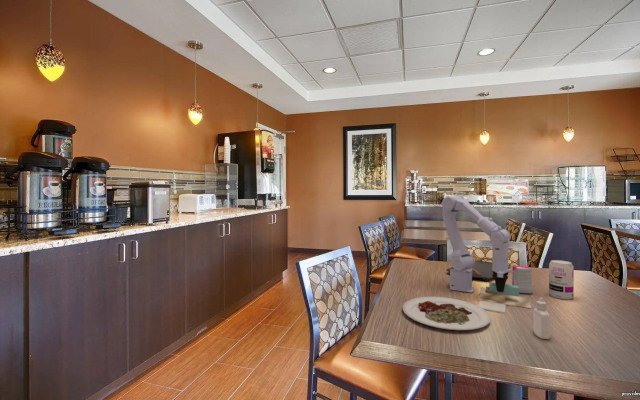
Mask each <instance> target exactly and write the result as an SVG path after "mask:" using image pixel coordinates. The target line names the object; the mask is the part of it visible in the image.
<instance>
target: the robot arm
mask: <svg viewBox="0 0 640 400" xmlns="http://www.w3.org/2000/svg"><path fill="white" fill-rule="evenodd" d="M440 205H441V207H442V210H441V217H442V220H443V223H444V226H445V230H446V233H447V236H448V239H449V242H450V245H451V248H452V251H453V252H452V253H451V256H450V257H451V267H453V268H454V269H451V270H450V275H449V290H451V291H459V292H465V293H466V292H467V293H470V294H471V293H472V294H473V292H474V286H473V277H472V267H474V265H475V261H476V260H475V258H474V257H473V256H472V254H471V252H470V250H468V249H467V248H466V246H465V243H464V240H463V236H462V234H461V231H460V227H459V224H458V223H457V222H458V221H457V220H456V216H457V214H458V213H459V212H460V211H462V212H464V213H465V214H466V215H468V216H469V217H470V218H472V220H474V221H475V222H476V223H477V227H478V228H479V229H480V230H481V231H483V232H484V233H485V234H486V235H487V236H488V239H489V240H490V242H491V244H492V249H491V250H492V253H491V254H492V255H491V256H492V257H491V258H492V260H491V262H492V270H493V274H492V276H493V277H492V278H493V280H494V283H496V288H497V291H498V292H503V291H504V287H505V284H507V281H508V279H509V273H510V272H511V273H513V269H511V268H509V269H508V266H509V242H510V241H511V239H512V238H511V237H512V236H511V232H510V231H509V230H508V229H505V228H502V226H501V225H498V224H497V223H495V222H494V221H493V220H494V219H493V218H492V217H488V216H483V215H482V214H481V213H480V212H479V211H478V210H477V209H476V208H475V207H474V206H473V205H472V204H471V203H470V202H469V201H468V199H466V198H464V196H463V195H453V196H452V195H451V196H449V195H448V196H445V197H444V198H443V200H442V201H441V204H440Z"/></svg>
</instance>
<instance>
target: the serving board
mask: <svg viewBox="0 0 640 400" xmlns="http://www.w3.org/2000/svg"><path fill="white" fill-rule="evenodd" d="M485 260H486V261H485ZM487 260H488V261H487ZM451 269H454V268H453V266H451V267H449V268H447V269H446V271H447V273H448V275H449V274H450V270H451ZM508 269H511V266H510V265H508ZM492 274H493V270H492V257H485V256H484V257H481V258H480V259H477V260H475V265H474V267H472V278H477V279H482V281H483V282H484V283H487V282H488V281H489V279H492V278H493V276H492ZM488 283H489V282H488Z"/></svg>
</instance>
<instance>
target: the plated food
mask: <svg viewBox="0 0 640 400" xmlns="http://www.w3.org/2000/svg"><path fill="white" fill-rule="evenodd" d="M478 306H479V305H476V304H474V303H471V302H468V301H465V300H461V299H456V298H452V297H451V298H450V297H444V296H422V297H421V296H420V297H414V298H412V299H409V300H406V301H405V302H403V304H402V311H403V312H404V314H405V315H406V316H407V317H408V318H410V319H412V320H413V321H415V322H418V323H419V324H420V323H421V324H423V325H426V326H429V327H433V328H437V329H443V330H454V331H472V330H477V329H482V328H483V327H486V326H488V325H489V324H490V322H491V315H490V313H488V312H487V311H486V310H484V309H482V308H480V307H478Z"/></svg>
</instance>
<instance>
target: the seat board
mask: <svg viewBox="0 0 640 400" xmlns="http://www.w3.org/2000/svg"><path fill="white" fill-rule="evenodd" d="M480 300H481V301H488V302H494V303H501V304H505V306H511V307H518V308H522V309H530V310H531V309H532V305H531V302H530V298H529V297H524V296H519V297H517V296H510V295H503V294H496V293H493V291H489V286H486V287H480V290H479V296H478V302H479V301H480Z"/></svg>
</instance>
